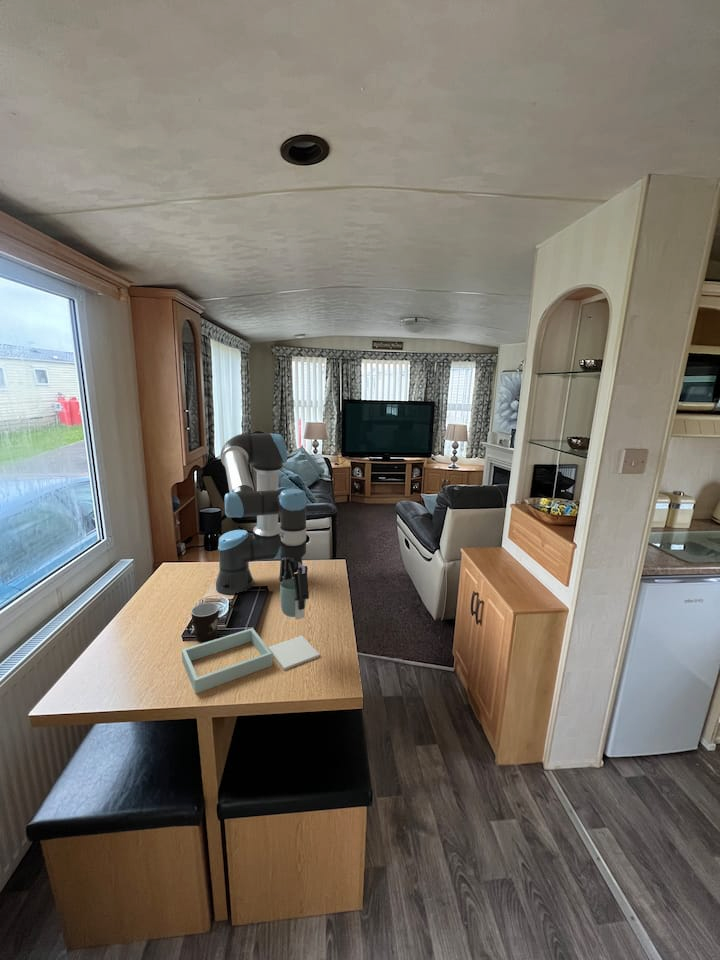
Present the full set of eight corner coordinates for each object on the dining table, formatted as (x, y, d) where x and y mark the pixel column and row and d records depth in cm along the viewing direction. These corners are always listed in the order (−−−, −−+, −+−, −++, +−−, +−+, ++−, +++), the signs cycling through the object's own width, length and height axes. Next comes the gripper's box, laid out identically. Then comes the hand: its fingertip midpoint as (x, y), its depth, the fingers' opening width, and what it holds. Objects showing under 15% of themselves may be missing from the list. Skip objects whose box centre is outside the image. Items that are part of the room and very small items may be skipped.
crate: (182, 661, 122) (181, 649, 122) (253, 638, 135) (252, 627, 134) (195, 693, 110) (194, 680, 109) (272, 665, 122) (272, 653, 121)
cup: (276, 618, 122) (276, 587, 120) (286, 606, 130) (286, 576, 128) (301, 622, 121) (301, 591, 119) (309, 609, 128) (309, 579, 126)
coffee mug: (213, 626, 141) (212, 600, 139) (224, 637, 135) (223, 609, 133) (179, 639, 133) (177, 611, 131) (189, 651, 127) (188, 622, 125)
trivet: (268, 649, 130) (268, 647, 129) (302, 637, 136) (302, 635, 136) (284, 670, 120) (284, 667, 120) (319, 656, 127) (319, 654, 127)
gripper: (267, 533, 127) (268, 600, 131) (297, 555, 110) (297, 631, 115) (289, 529, 131) (290, 594, 136) (321, 550, 114) (320, 623, 119)
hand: (293, 611), depth 125 cm, fingers closed on cup, 8 cm apart
